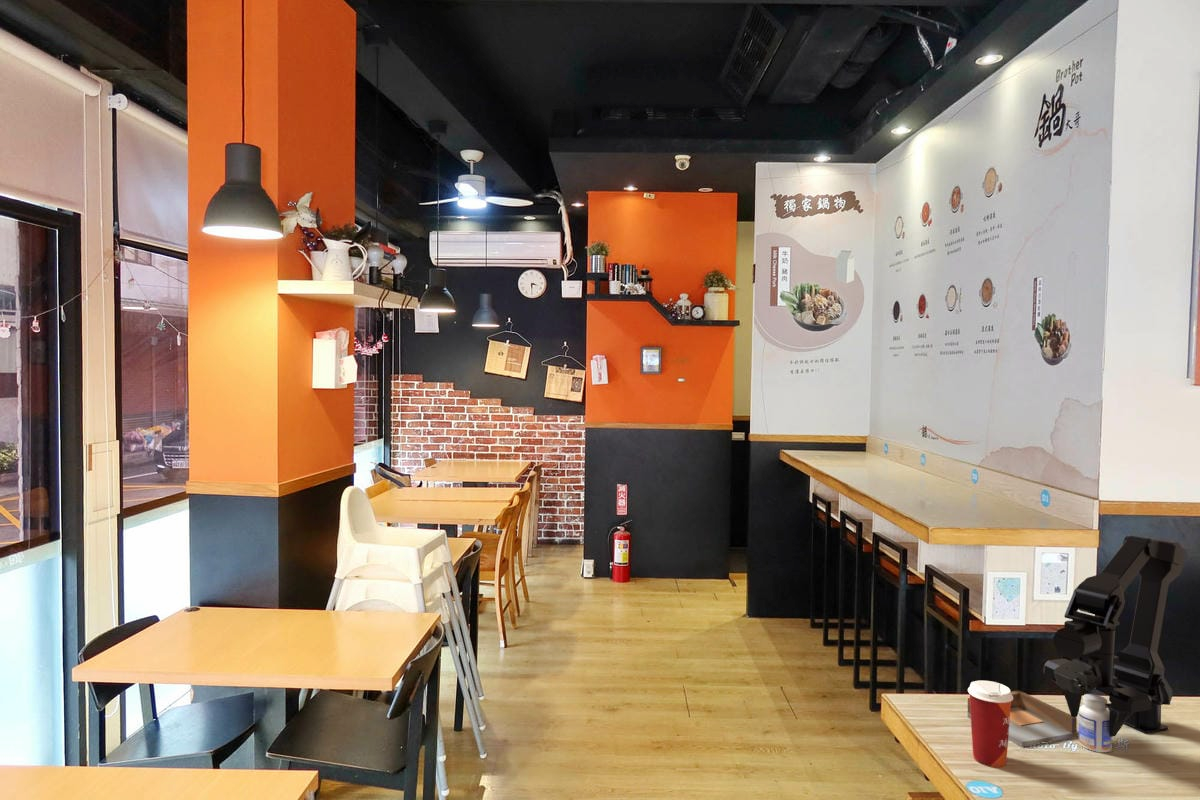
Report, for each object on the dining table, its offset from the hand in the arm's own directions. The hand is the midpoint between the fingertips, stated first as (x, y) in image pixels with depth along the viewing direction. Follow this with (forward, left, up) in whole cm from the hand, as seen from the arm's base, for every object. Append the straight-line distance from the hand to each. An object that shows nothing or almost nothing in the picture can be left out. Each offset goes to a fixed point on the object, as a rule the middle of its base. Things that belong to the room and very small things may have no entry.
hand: (1092, 726), depth 147 cm
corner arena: (+7, -10, -4) cm, 13 cm away
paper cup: (+24, -1, -4) cm, 24 cm away
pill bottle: (0, +1, -4) cm, 4 cm away
